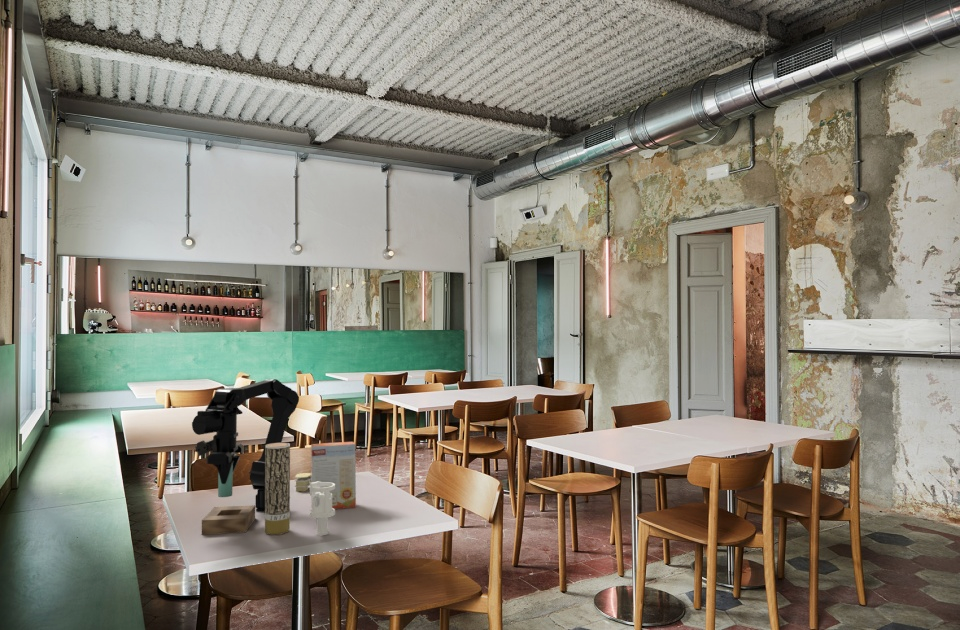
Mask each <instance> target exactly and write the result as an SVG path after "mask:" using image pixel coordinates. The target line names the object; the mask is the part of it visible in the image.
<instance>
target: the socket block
mask: <svg viewBox="0 0 960 630" xmlns="http://www.w3.org/2000/svg"><path fill="white" fill-rule="evenodd" d="M255 519H256V504H255V505H253V504H252V505H237V506H235V505H233V506H214V507H213V508H211V510H210V511H209V512H208V513H207V514H206V515H205V516H204V518H202V519H201V535H215V534H216V535H217V534H218V535H219V534H220V535H221V534H240V533H247V531H248V529H249V528H250V526H251V525H252V524H253V522H254V521H255Z"/></svg>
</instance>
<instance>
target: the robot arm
mask: <svg viewBox="0 0 960 630" xmlns="http://www.w3.org/2000/svg"><path fill="white" fill-rule="evenodd" d="M265 394H266V395H267V396H266V397H268V398H269V399H270V400H271V405H270V406H271V410H272V413H273V414H272V419H271V422H270V425H269V429H268V431H267V432H268V433H267V436H266V439H265V443H264V447H263V449H262V453H261V457H260V458H259V459H258V460H252V461H253V462H252V463H251V467H250V470H249V472H248V474H249V480H250V483H251V486H252V489H253V490H257V492H256V494H255V512H261V511H262V512H265V447H266V446H265V445H267V444H271V443H283V440H284V439H283V437H284V434H285V430H286V427H287V424H288V420H289V418H290V417H291V415H293V413H294V412H295V411H296V409H297V407H298V403H299V401H300V396H299V395H298V392H296V390H293V389H292V388H291V387H288V386H287V385H286V384H283V383H282V382H281V381H280V380H278V379H275V378H266V379H264V380H261V381H257V382H254V383H251V384H247V385H244V386H241V387H240V386H239V387H231V388H230V387H229V388H228V387H227V388H226V387H225V388H217V390H215V392H214V394H213V397H212V399H211V400H210V402H209V404H208V406H207V407H206V408H205V410H198V411H197V413H196V415H195V417H194V418H193V420H192V422H191V426H192V427H191V428H192V431H193V433H195V434H196V435H199V436H200V435H207V434H212V433H216V434H214V435H213V437H212V438H213V439H211V440H207V441H205V440H201V441H198V442H196V445H195V447H194V448H195V450H194V452H195V453H197V455H198V457H201V456H203V455H204V454H206V453H209V454H208V455H207V456H206V464H207V465H213V466H214V467H215V468H216V469H217V472H218V473H219V476H220V479H221V483H222V484H226V482H227V479H228V476H229V473H230V471H231V468H232V465H233V473H234V472H235V469H236V467H237V465H238V463H239V460H240V459H241V454H242V455H243V454H244V453H245V446H244V445H243V444H242V443H237V437H239V432H238V431H237V428H238V426H237V423H238V422H237V419H238V415H242V414H243V411H242V410H241V409H239V407H240V406H241V405H243V404H244V403H245V402H246V401H247V400H250V399H253V398H256V397H261V396H263V395H265ZM210 452H211V453H210ZM238 453H239V455H237V454H238Z"/></svg>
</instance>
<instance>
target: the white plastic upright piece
mask: <svg viewBox="0 0 960 630" xmlns="http://www.w3.org/2000/svg"><path fill="white" fill-rule="evenodd" d="M322 486H328V487H324V488H320V487H322ZM334 489H335V484H334V483H330V482H320V481H316V482H312V483H310V486H309V496H312V500H311V509H309V517H310V518H313V519H315V518H316V536H326V535H328V534H329V531H328V530H329V528H328V527H329V524H328V523H329V520H328V519H329V518H330V517H332V516H335V515H336V509H334V508H332V493H329V491H331V490H334Z"/></svg>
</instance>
